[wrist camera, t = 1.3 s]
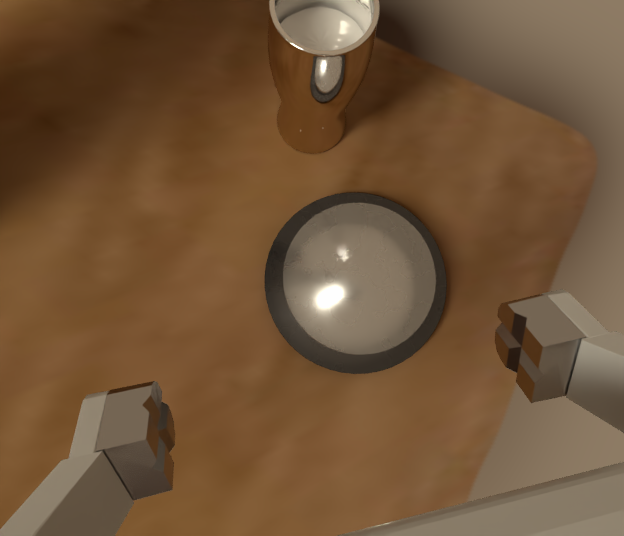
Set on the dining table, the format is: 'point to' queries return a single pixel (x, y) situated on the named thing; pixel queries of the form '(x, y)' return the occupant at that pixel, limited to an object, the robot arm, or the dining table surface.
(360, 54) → the beer glass
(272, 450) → the dining table surface
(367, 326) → the disc
